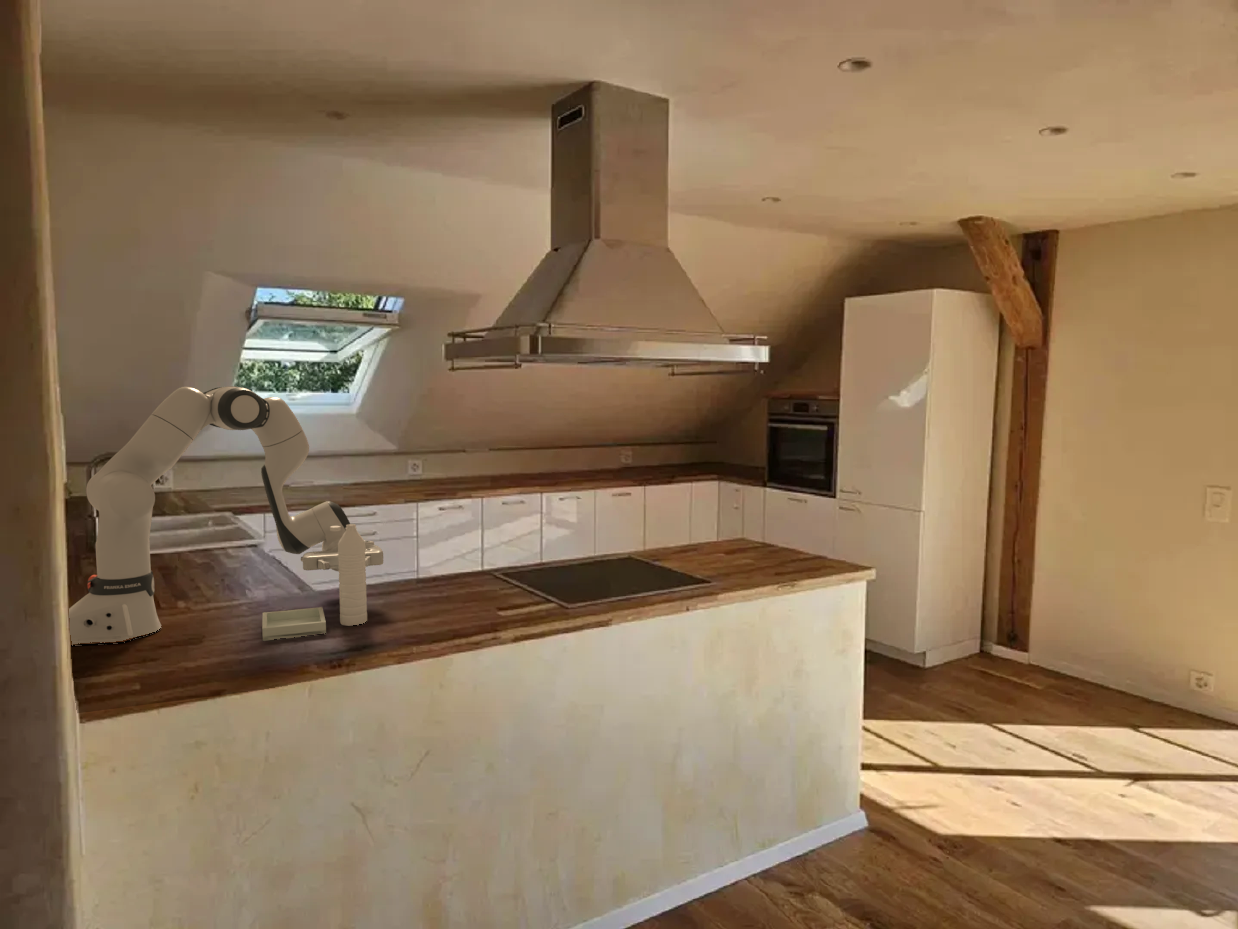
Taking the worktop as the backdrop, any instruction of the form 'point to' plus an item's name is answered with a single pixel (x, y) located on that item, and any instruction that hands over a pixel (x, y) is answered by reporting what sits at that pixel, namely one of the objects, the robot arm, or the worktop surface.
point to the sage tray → (293, 623)
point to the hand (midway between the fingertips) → (345, 565)
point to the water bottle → (352, 576)
